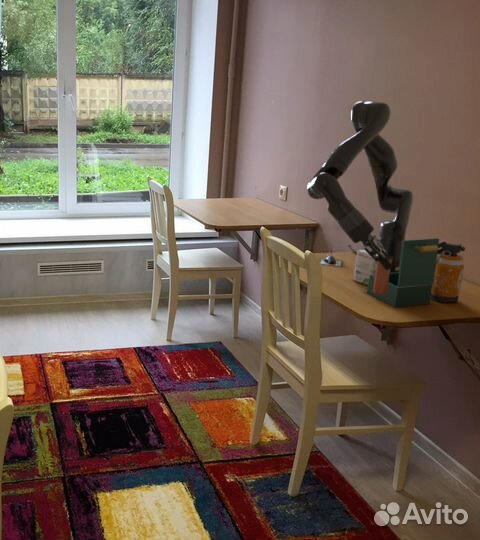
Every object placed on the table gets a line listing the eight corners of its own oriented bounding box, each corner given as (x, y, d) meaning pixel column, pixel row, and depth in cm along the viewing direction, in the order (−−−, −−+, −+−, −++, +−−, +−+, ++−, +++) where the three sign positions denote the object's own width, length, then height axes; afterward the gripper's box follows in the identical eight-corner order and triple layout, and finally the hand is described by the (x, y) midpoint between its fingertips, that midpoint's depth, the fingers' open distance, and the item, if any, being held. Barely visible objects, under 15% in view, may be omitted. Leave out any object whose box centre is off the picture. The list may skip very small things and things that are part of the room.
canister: (456, 305, 203) (467, 248, 197) (420, 299, 209) (429, 243, 203) (458, 297, 210) (469, 242, 204) (423, 292, 216) (432, 237, 210)
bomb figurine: (320, 264, 248) (321, 251, 246) (321, 259, 254) (322, 246, 253) (340, 266, 245) (342, 253, 243) (341, 261, 252) (342, 248, 250)
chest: (367, 292, 215) (369, 274, 213) (399, 289, 218) (402, 271, 216) (395, 307, 201) (398, 287, 199) (429, 303, 205) (432, 284, 203)
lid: (402, 240, 196) (413, 243, 191) (437, 238, 199) (449, 241, 194) (397, 286, 199) (408, 290, 195) (431, 283, 203) (443, 287, 198)
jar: (369, 290, 197) (374, 255, 193) (381, 289, 198) (386, 254, 195) (378, 294, 193) (383, 259, 189) (390, 293, 194) (395, 258, 191)
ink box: (380, 285, 223) (384, 254, 219) (370, 286, 221) (374, 256, 217) (362, 278, 230) (366, 248, 226) (352, 280, 228) (356, 250, 224)
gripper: (362, 222, 185) (399, 265, 184) (367, 213, 198) (401, 253, 196) (342, 237, 189) (378, 279, 188) (348, 227, 202) (382, 267, 200)
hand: (390, 266), depth 192 cm, fingers closed on jar, 4 cm apart
